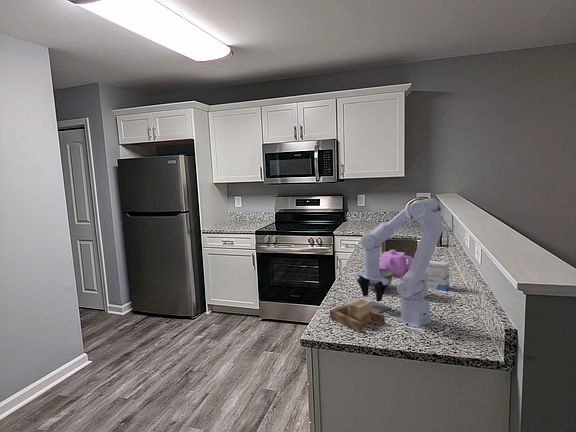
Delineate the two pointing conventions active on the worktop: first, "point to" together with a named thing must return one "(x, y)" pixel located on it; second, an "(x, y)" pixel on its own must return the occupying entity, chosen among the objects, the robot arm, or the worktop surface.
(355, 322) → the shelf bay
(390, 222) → the robot arm
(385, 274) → the bowl
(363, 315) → the gripped blank
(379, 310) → the mat
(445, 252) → the worktop surface
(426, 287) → the small box
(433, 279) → the ink box
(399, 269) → the teakettle
